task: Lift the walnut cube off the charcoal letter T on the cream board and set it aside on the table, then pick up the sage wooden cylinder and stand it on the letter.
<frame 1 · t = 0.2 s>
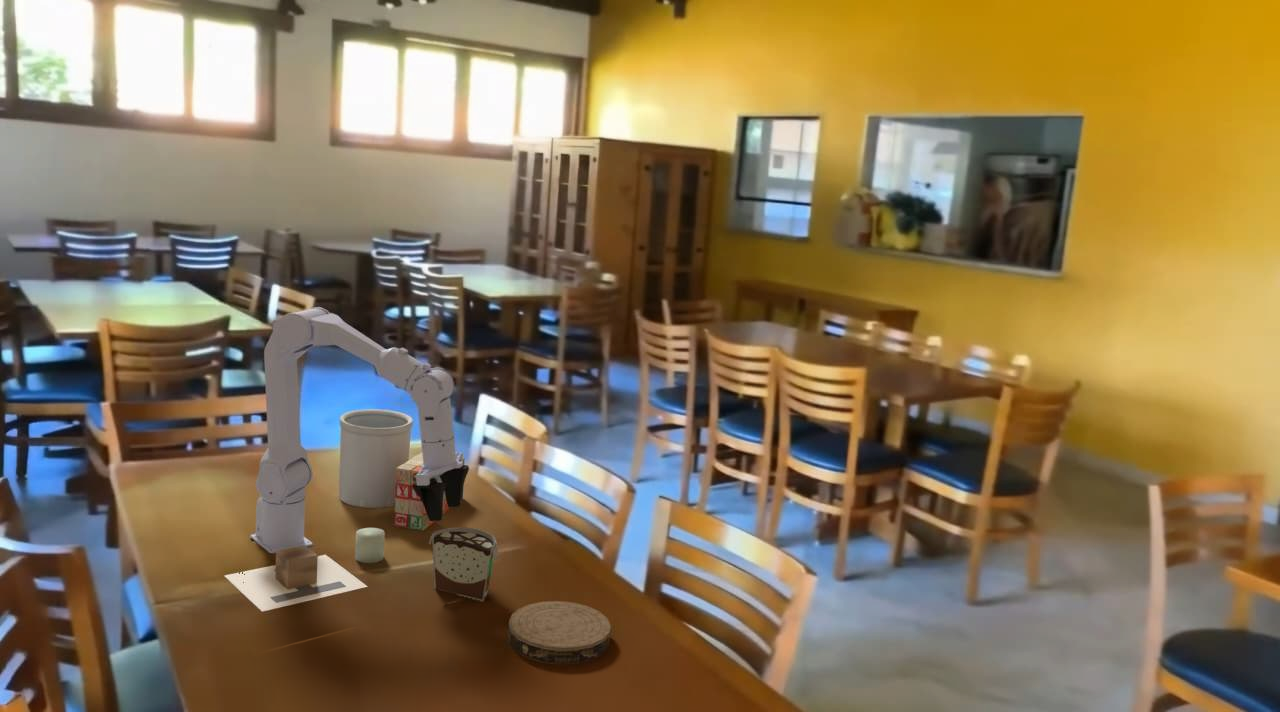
hand: (445, 513, 176), 10 cm above the table, tool pointing down, fingers open, 7 cm apart
wooden cube: (296, 580, 167), resting on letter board
utensil holder: (373, 498, 211), on the table
stack of blocks: (429, 512, 206), on the table
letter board: (296, 582, 167), on the table
beige round flat disc: (558, 642, 156), on the table
food container: (467, 590, 171), on the table
sage cylinder: (369, 558, 180), on the table
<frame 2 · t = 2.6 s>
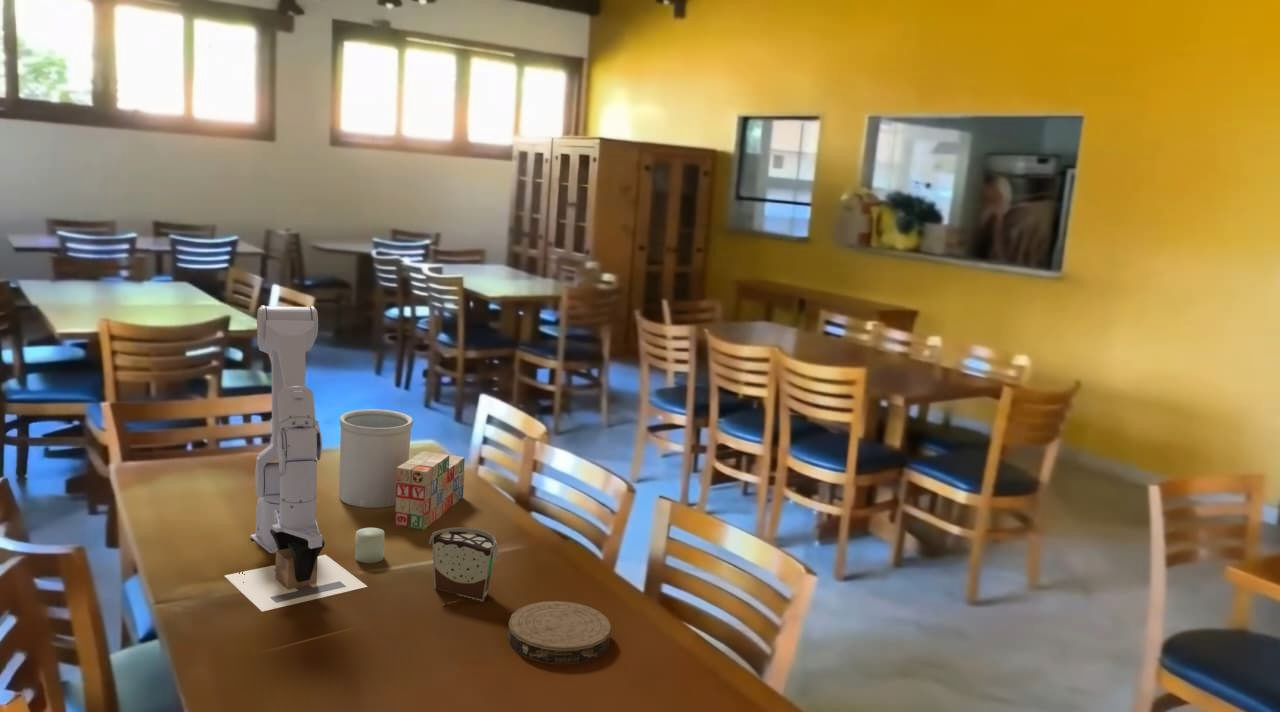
hand: (296, 574, 167), 1 cm above the table, tool pointing down, fingers closed on wooden cube, 5 cm apart
wooden cube: (296, 580, 167), resting on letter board, touching gripper
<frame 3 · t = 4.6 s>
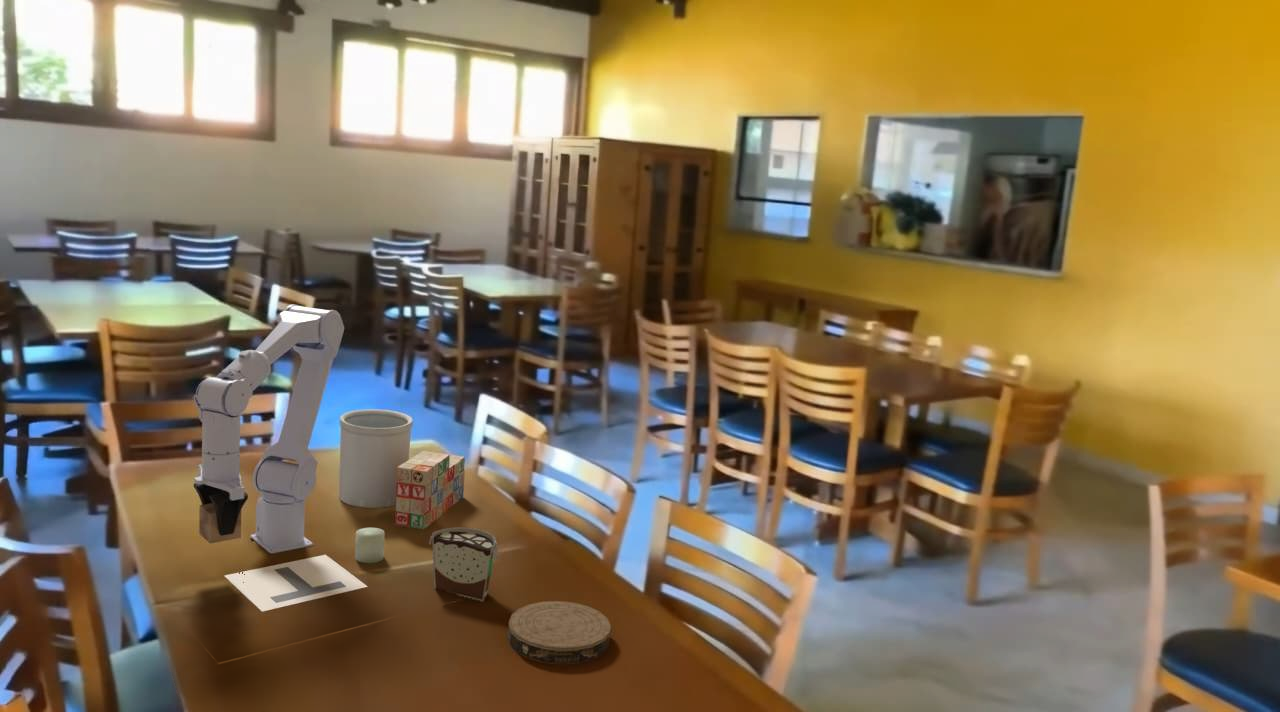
hand: (220, 528, 165), 8 cm above the table, tool pointing down, fingers closed on wooden cube, 5 cm apart
wooden cube: (220, 535, 166), point 7 cm above the table, touching gripper
everything else where it was.
when the fingers open (3 cm above the table, at t = 6.5 s): wooden cube drops 2 cm, on the table.
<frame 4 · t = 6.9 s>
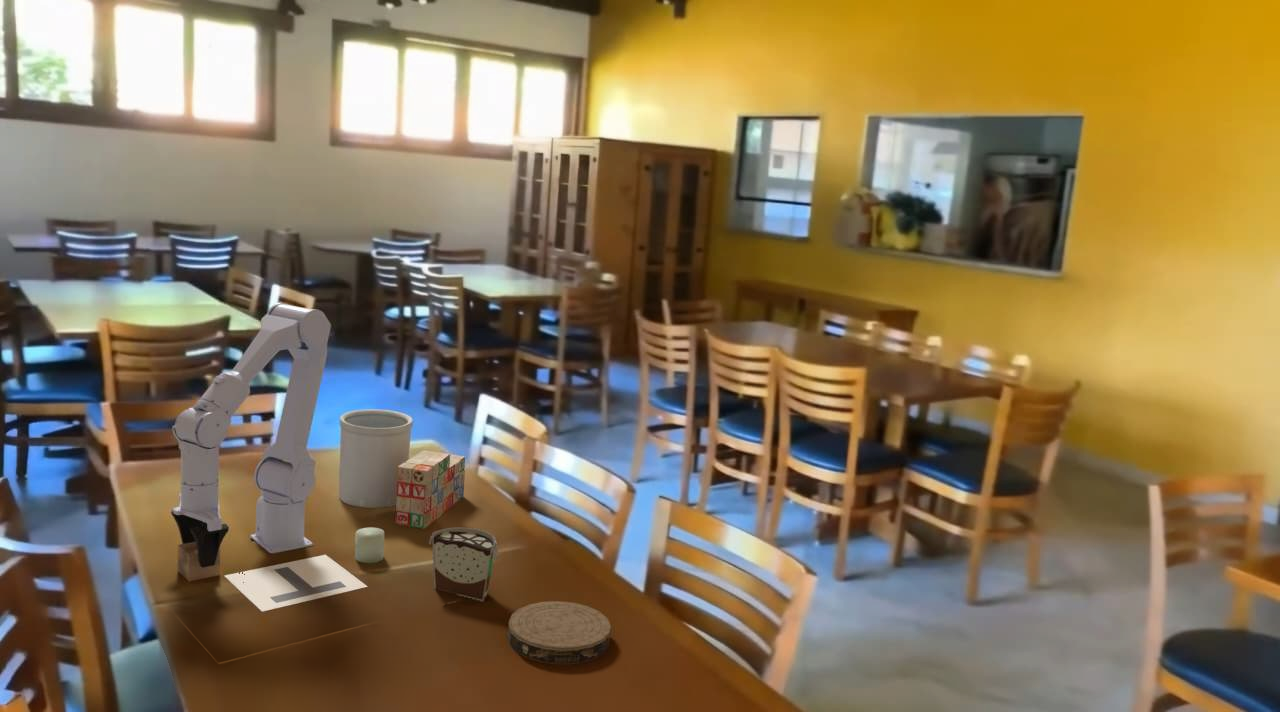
hand: (199, 557, 167), 3 cm above the table, tool pointing down, fingers open, 7 cm apart
wooden cube: (198, 574, 167), on the table
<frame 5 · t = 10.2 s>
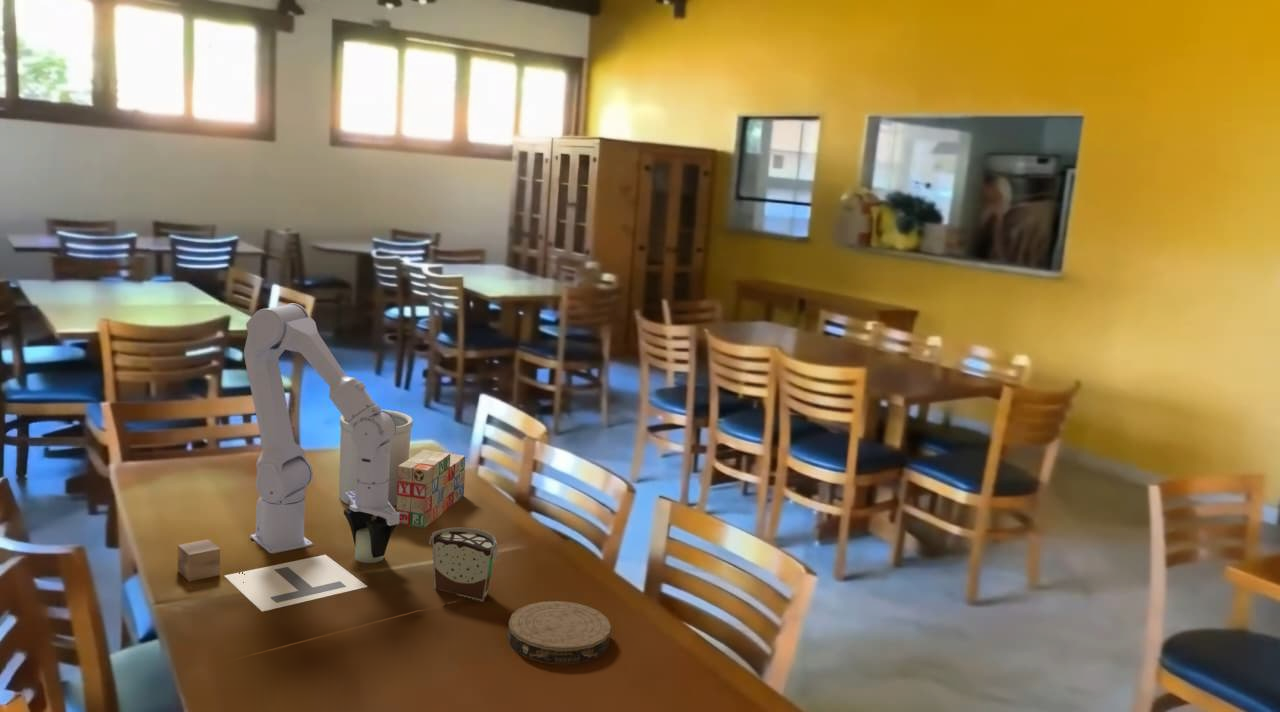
hand: (369, 551, 179), 1 cm above the table, tool pointing down, fingers closed on sage cylinder, 5 cm apart
sage cylinder: (369, 558, 180), on the table, touching gripper
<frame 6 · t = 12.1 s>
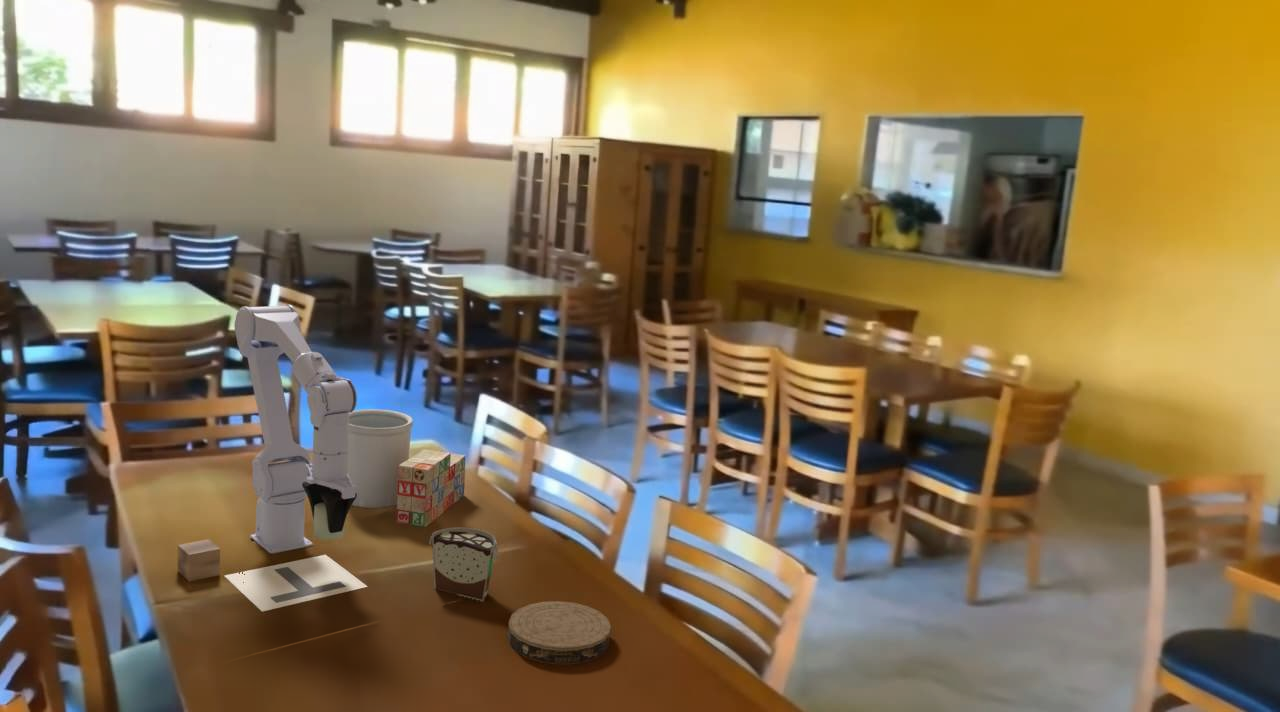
hand: (328, 526, 171), 8 cm above the table, tool pointing down, fingers closed on sage cylinder, 5 cm apart
sage cylinder: (328, 534, 171), point 7 cm above the table, touching gripper
when the fingers open (3 cm above the table, at t = 14.1 s): sage cylinder drops 1 cm, resting on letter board.
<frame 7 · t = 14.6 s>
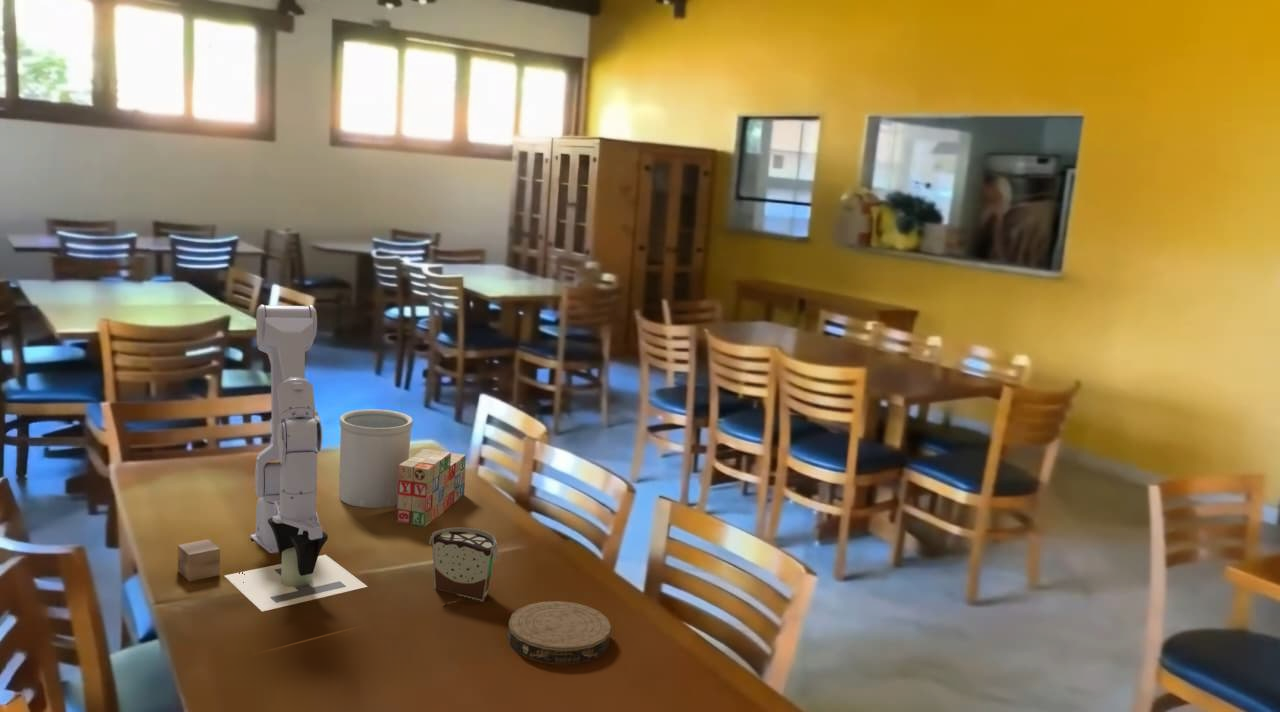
hand: (296, 566, 167), 3 cm above the table, tool pointing down, fingers open, 7 cm apart
sage cylinder: (296, 580, 167), resting on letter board
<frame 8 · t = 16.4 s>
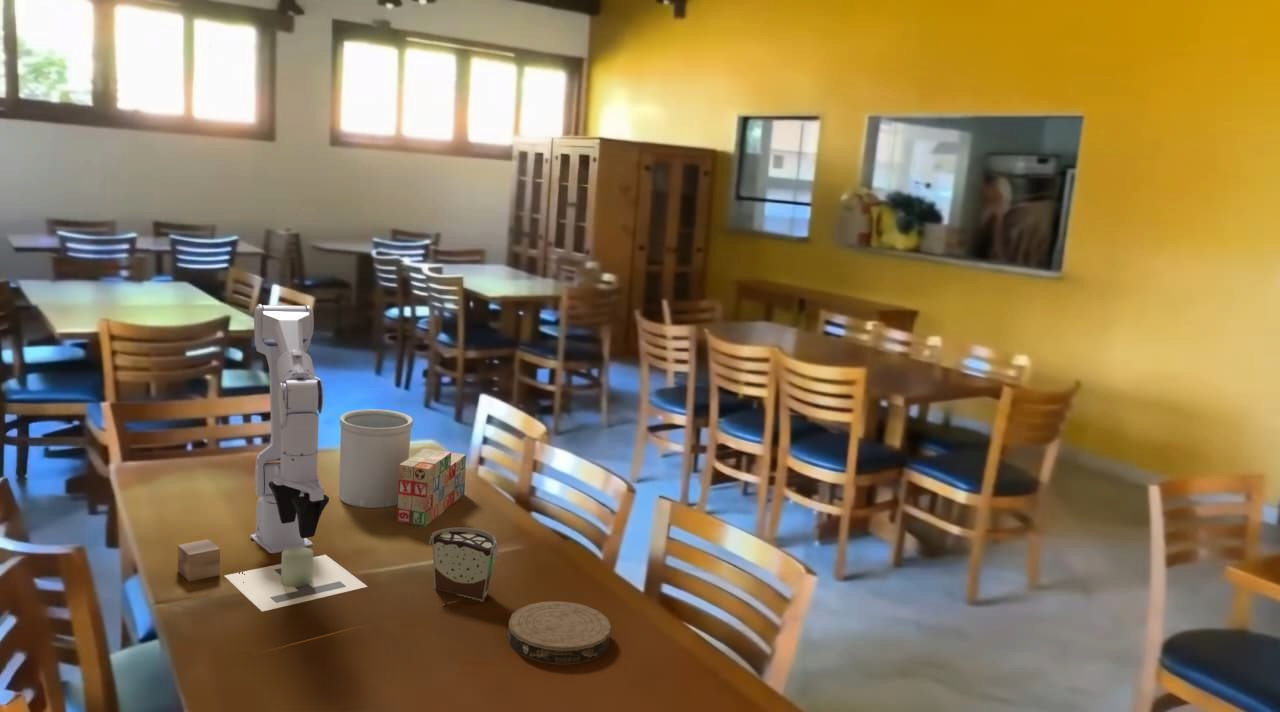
hand: (297, 529, 166), 9 cm above the table, tool pointing down, fingers open, 7 cm apart
at the end: sage cylinder 0.1 cm off-centre on the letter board, point 0.2 cm above the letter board's base; sage cylinder tilted 0°; wooden cube inside the target area (0.1 cm from its centre), on the table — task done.
